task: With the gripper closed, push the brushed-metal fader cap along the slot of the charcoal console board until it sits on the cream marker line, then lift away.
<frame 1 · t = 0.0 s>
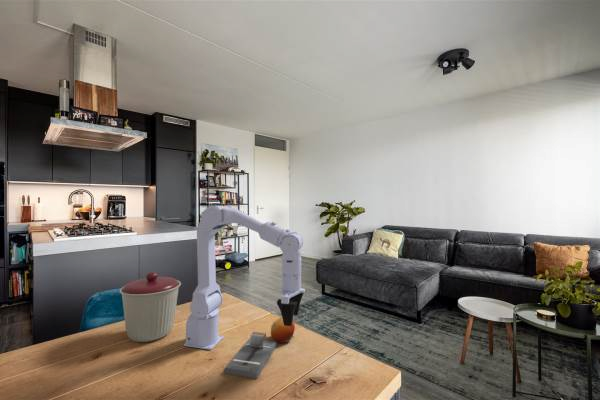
hand: (291, 319, 80), 10 cm above the table, fingers open, 7 cm apart
fruit: (282, 339, 89), on the table
console board: (252, 358, 77), on the table
canister: (150, 335, 91), on the table
fader cap: (258, 339, 81), point 4 cm above the table, slide at 0.0 cm
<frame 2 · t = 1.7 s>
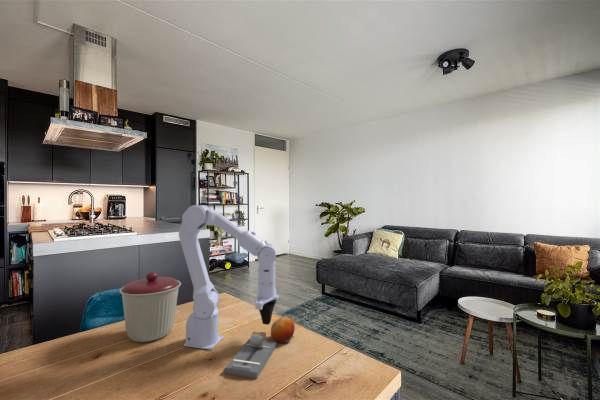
hand: (266, 323, 88), 5 cm above the table, fingers closed
nothing on the table moved.
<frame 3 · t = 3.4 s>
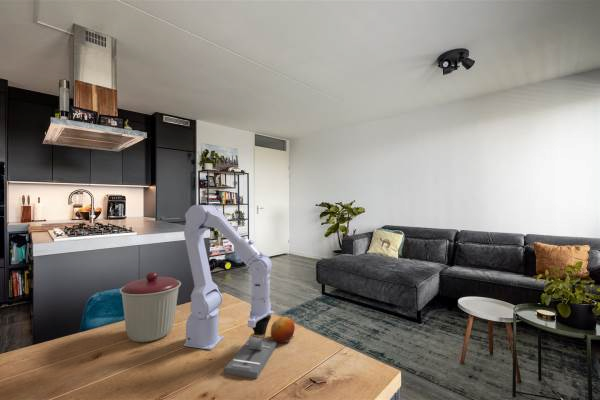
hand: (260, 340, 83), 2 cm above the table, fingers closed
fader cap: (256, 341, 80), point 4 cm above the table, slide at 1.2 cm, touching gripper
everything else where it was.
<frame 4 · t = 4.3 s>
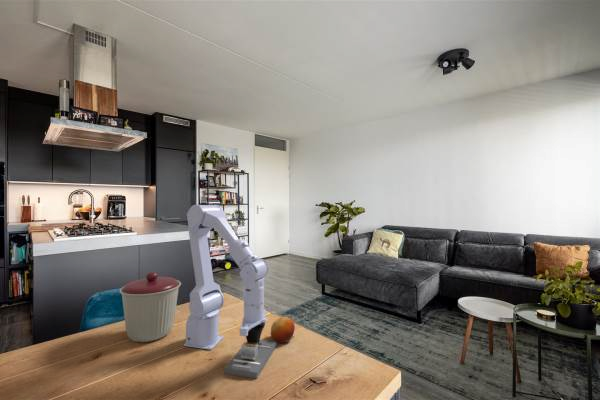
hand: (253, 349, 78), 2 cm above the table, fingers closed
fader cap: (249, 350, 75), point 4 cm above the table, slide at 6.4 cm, touching gripper
everything else where it was.
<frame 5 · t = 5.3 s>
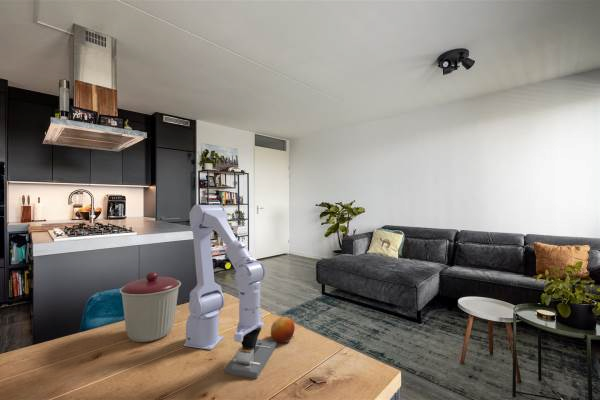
hand: (249, 355, 75), 2 cm above the table, fingers closed
fader cap: (245, 356, 72), point 4 cm above the table, slide at 9.5 cm, touching gripper
everything else where it was.
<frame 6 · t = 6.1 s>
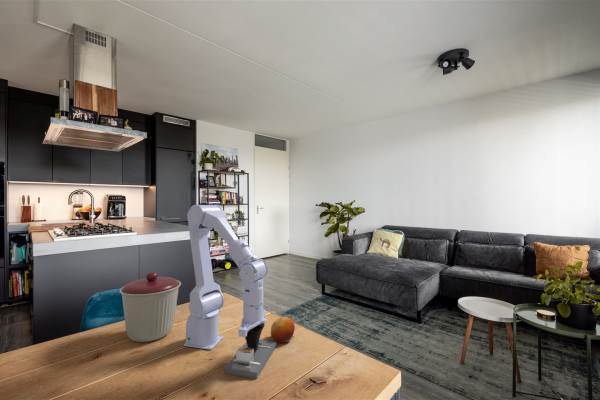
hand: (252, 350, 77), 2 cm above the table, fingers closed
fader cap: (244, 356, 72), point 4 cm above the table, slide at 9.5 cm
everything else where it was.
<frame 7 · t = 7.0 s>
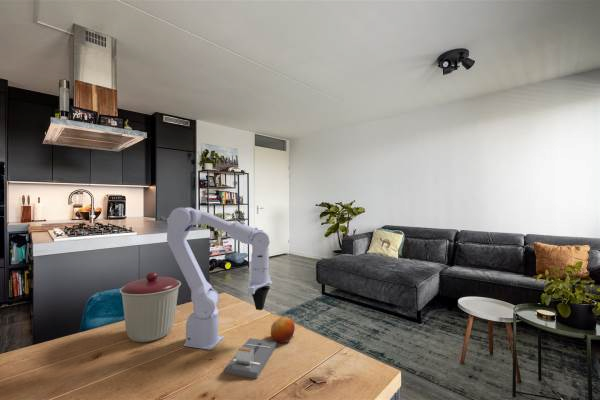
hand: (259, 309, 88), 10 cm above the table, fingers closed
nothing on the table moved.
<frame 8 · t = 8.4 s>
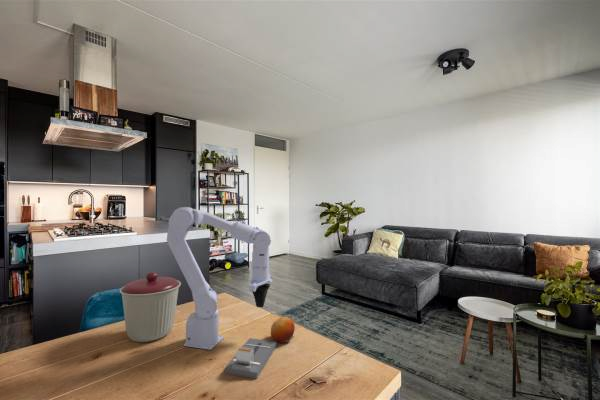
hand: (260, 306, 91), 10 cm above the table, fingers closed
nothing on the table moved.
at the end: fader cap slide at 9.5 cm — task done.
